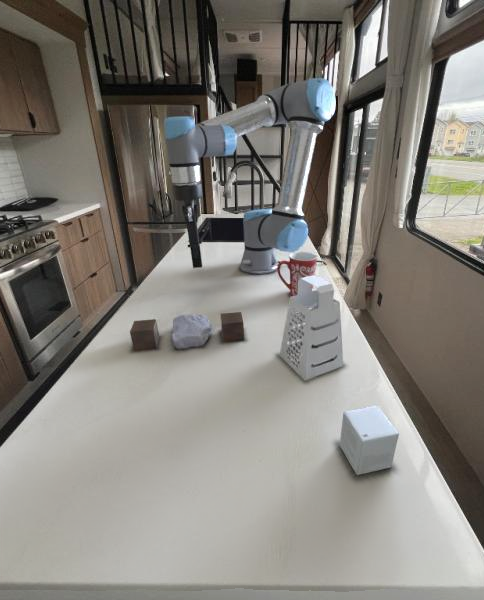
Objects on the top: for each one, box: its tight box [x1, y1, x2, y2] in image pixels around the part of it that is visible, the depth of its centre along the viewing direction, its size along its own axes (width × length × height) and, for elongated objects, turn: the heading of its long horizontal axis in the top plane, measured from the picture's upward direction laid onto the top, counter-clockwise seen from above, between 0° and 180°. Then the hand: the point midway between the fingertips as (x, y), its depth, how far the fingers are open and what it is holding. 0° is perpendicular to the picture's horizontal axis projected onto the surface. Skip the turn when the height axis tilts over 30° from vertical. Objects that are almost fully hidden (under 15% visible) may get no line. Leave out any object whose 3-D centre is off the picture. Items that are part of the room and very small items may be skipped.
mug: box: [276, 251, 319, 297], centre depth 105 cm, size 13×9×14 cm
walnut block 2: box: [220, 311, 245, 343], centre depth 84 cm, size 6×6×6 cm
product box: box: [339, 405, 400, 476], centre depth 50 cm, size 6×6×7 cm
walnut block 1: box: [129, 318, 160, 352], centre depth 82 cm, size 6×6×6 cm
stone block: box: [171, 313, 212, 350], centre depth 85 cm, size 12×5×10 cm
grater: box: [279, 274, 344, 381], centre depth 71 cm, size 10×10×20 cm
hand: (197, 266), depth 96 cm, fingers closed
